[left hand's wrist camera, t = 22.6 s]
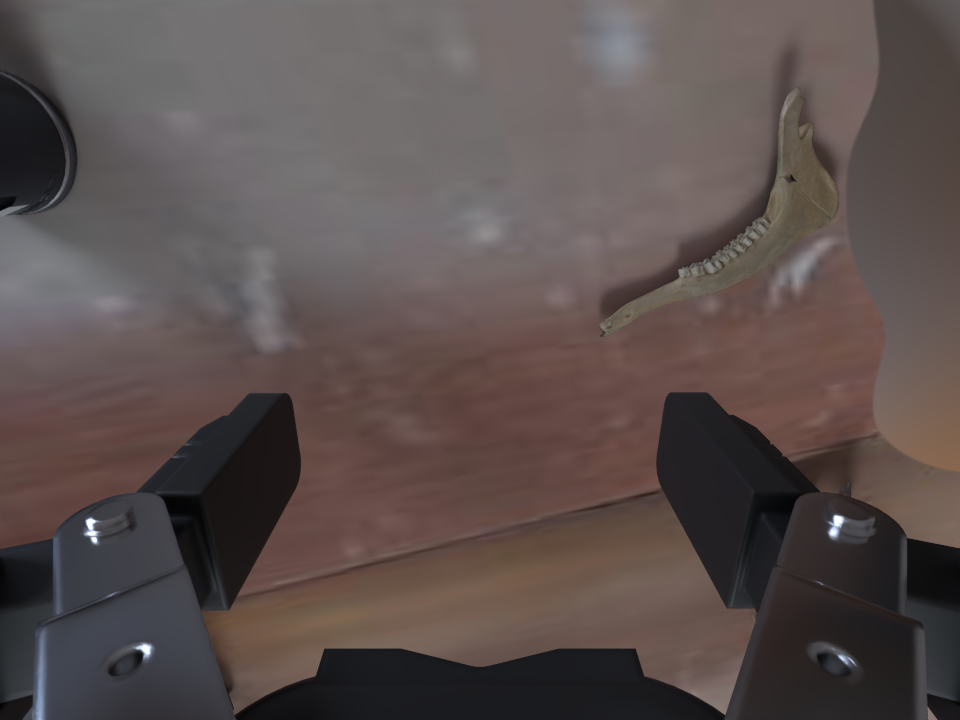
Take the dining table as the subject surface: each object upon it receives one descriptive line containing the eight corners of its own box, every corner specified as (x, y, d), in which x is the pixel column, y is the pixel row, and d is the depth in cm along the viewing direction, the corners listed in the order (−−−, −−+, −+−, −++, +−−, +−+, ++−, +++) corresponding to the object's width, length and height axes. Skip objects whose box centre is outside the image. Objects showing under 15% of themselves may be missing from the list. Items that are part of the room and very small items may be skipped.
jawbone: (865, 165, 37) (887, 168, 35) (673, 381, 44) (684, 393, 42) (781, 87, 35) (800, 85, 33) (591, 328, 41) (598, 338, 40)
